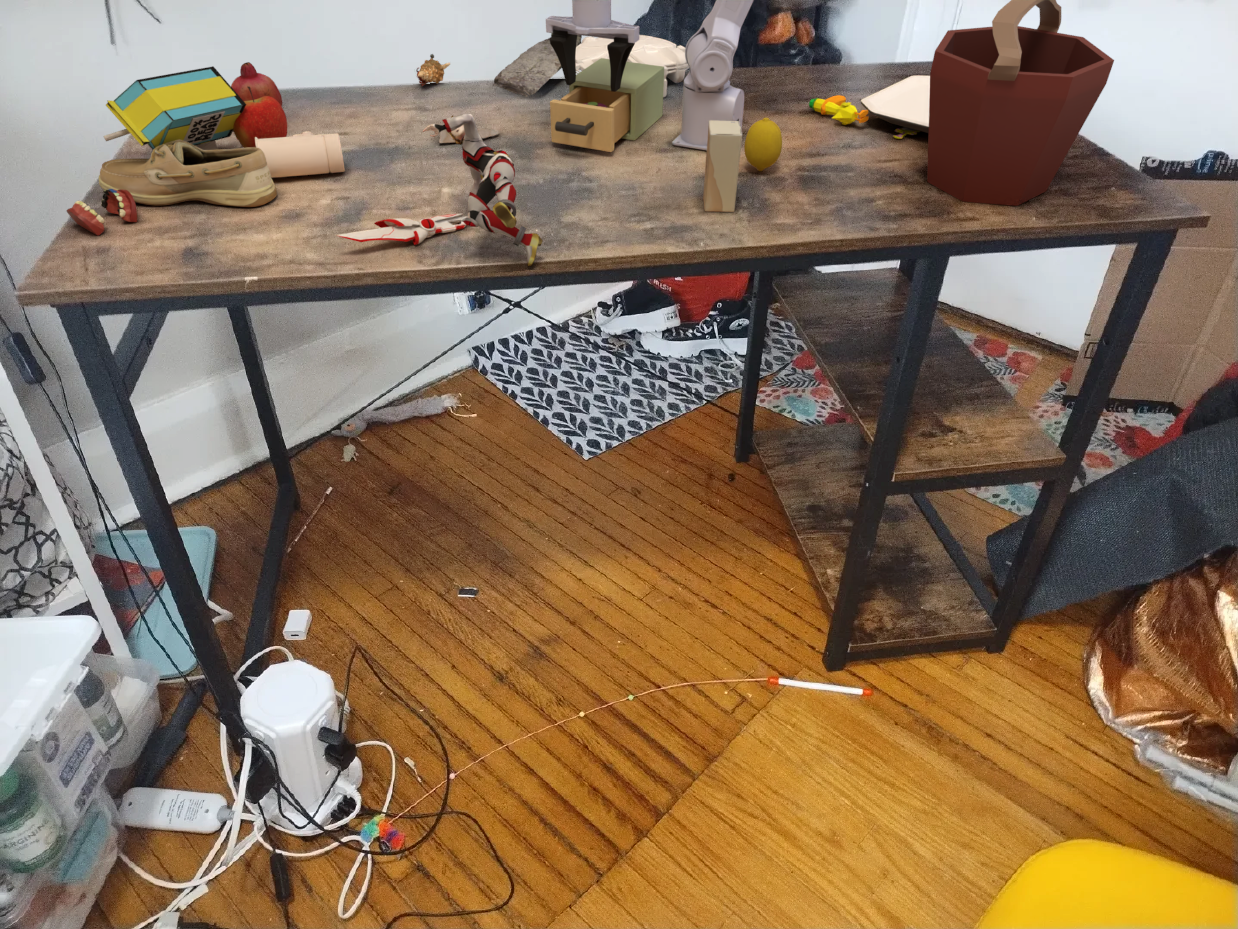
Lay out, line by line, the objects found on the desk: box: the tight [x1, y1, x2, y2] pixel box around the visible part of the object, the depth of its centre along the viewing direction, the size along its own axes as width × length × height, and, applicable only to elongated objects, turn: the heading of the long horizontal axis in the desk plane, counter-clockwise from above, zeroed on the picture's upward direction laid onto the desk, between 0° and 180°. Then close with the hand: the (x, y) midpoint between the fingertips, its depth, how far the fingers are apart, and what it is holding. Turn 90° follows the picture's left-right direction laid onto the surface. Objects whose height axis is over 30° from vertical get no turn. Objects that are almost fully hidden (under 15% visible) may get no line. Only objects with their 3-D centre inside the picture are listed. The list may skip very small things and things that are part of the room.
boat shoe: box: [98, 140, 278, 208], centre depth 124 cm, size 25×9×8 cm, turn 83°
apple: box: [232, 86, 288, 148], centre depth 135 cm, size 8×8×10 cm
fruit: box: [230, 61, 283, 108], centre depth 144 cm, size 8×8×10 cm
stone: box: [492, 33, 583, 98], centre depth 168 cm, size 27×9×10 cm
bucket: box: [926, 0, 1115, 207], centre depth 124 cm, size 24×22×25 cm
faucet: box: [255, 130, 346, 179], centre depth 133 cm, size 6×12×12 cm
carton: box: [103, 66, 246, 151], centre depth 126 cm, size 7×8×18 cm
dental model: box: [65, 189, 138, 236], centre depth 119 cm, size 6×4×8 cm
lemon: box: [743, 117, 783, 172], centre depth 132 cm, size 6×6×8 cm
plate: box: [860, 74, 930, 134], centre depth 151 cm, size 29×29×2 cm
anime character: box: [335, 113, 543, 267], centre depth 112 cm, size 23×16×25 cm
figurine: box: [414, 53, 451, 88], centre depth 164 cm, size 14×5×4 cm, turn 148°
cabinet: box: [568, 58, 664, 141], centre depth 148 cm, size 13×12×8 cm
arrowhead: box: [438, 127, 500, 144], centre depth 144 cm, size 5×1×10 cm
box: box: [702, 120, 743, 213], centre depth 122 cm, size 5×4×11 cm
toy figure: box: [808, 94, 870, 126], centre depth 151 cm, size 7×4×12 cm
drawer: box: [549, 86, 631, 153], centre depth 140 cm, size 15×10×6 cm
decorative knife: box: [892, 126, 922, 140], centre depth 148 cm, size 12×1×5 cm
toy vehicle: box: [575, 34, 690, 98], centre depth 166 cm, size 23×25×6 cm
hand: (593, 86), depth 138 cm, fingers open, 7 cm apart
